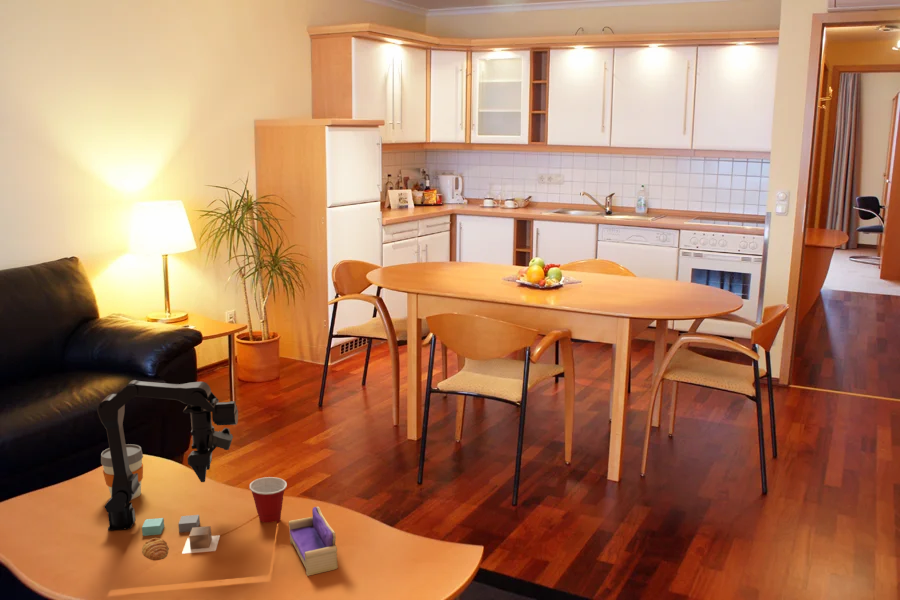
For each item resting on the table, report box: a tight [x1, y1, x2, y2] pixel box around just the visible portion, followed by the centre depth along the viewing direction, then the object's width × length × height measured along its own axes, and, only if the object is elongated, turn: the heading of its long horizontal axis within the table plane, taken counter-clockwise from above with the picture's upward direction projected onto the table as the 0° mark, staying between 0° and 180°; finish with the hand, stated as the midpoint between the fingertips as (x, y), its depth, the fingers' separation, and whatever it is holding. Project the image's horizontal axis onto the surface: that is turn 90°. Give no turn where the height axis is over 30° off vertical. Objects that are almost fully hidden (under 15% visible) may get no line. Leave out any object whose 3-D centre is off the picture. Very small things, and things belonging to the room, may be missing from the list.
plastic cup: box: [249, 476, 288, 524], centre depth 246 cm, size 11×11×12 cm
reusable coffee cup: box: [100, 443, 144, 500], centre depth 267 cm, size 13×13×15 cm
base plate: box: [181, 534, 221, 555], centre depth 232 cm, size 9×9×1 cm
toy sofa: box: [288, 506, 339, 576], centre depth 225 cm, size 21×9×10 cm, turn 23°
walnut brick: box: [188, 525, 213, 549], centre depth 231 cm, size 5×5×4 cm
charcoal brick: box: [177, 514, 201, 533], centre depth 242 cm, size 5×5×4 cm
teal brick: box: [141, 517, 165, 537], centre depth 240 cm, size 5×5×4 cm
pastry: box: [141, 537, 170, 561], centre depth 228 cm, size 9×7×4 cm
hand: (205, 475), depth 246 cm, fingers open, 9 cm apart
